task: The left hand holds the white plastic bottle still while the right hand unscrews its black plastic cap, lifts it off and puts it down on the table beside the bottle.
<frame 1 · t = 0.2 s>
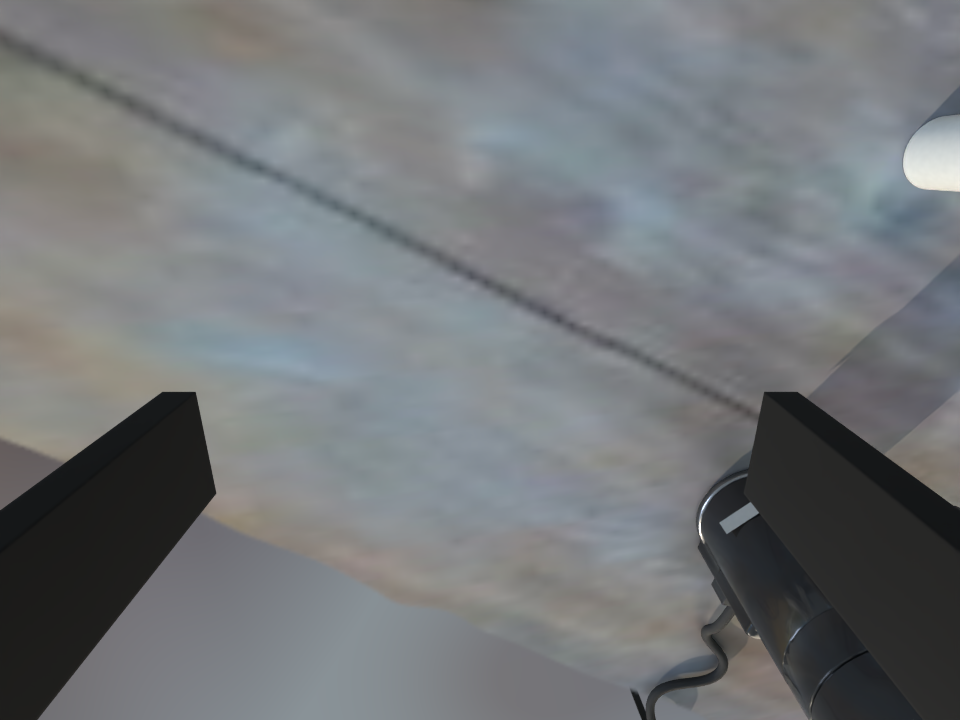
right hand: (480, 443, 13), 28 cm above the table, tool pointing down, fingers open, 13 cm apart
bottle: (938, 153, 36), on the table
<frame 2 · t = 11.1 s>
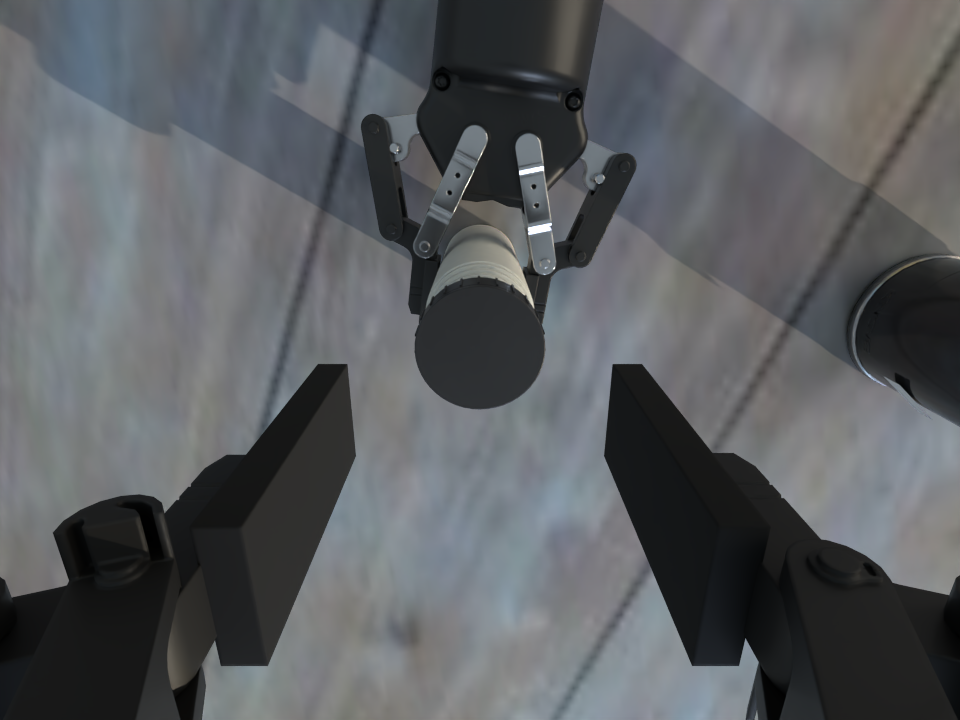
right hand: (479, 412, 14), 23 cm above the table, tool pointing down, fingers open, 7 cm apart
left hand: (474, 327, 30), fingers closed on bottle, 4 cm apart
bottle: (480, 260, 36), on the table, touching left hand
cap: (479, 347, 19), point 18 cm above the table, screwed on, not yet turned
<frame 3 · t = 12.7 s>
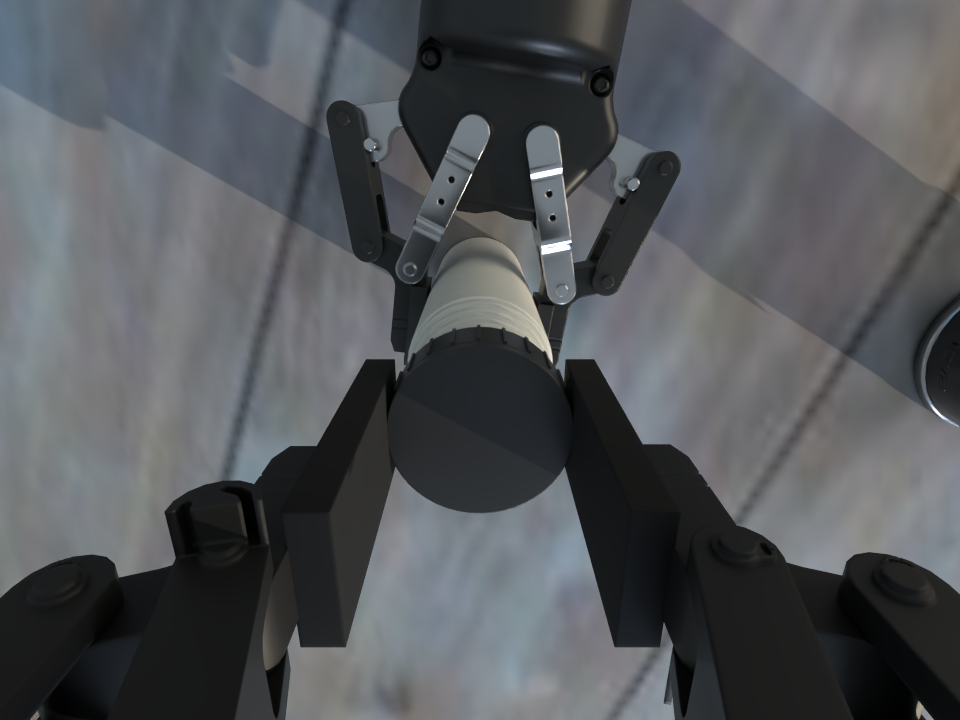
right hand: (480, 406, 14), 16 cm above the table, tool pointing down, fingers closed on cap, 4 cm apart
left hand: (472, 366, 25), fingers closed on bottle, 4 cm apart
bottle: (480, 280, 30), on the table, touching left hand
cap: (480, 429, 13), point 18 cm above the table, screwed on, not yet turned, touching right hand
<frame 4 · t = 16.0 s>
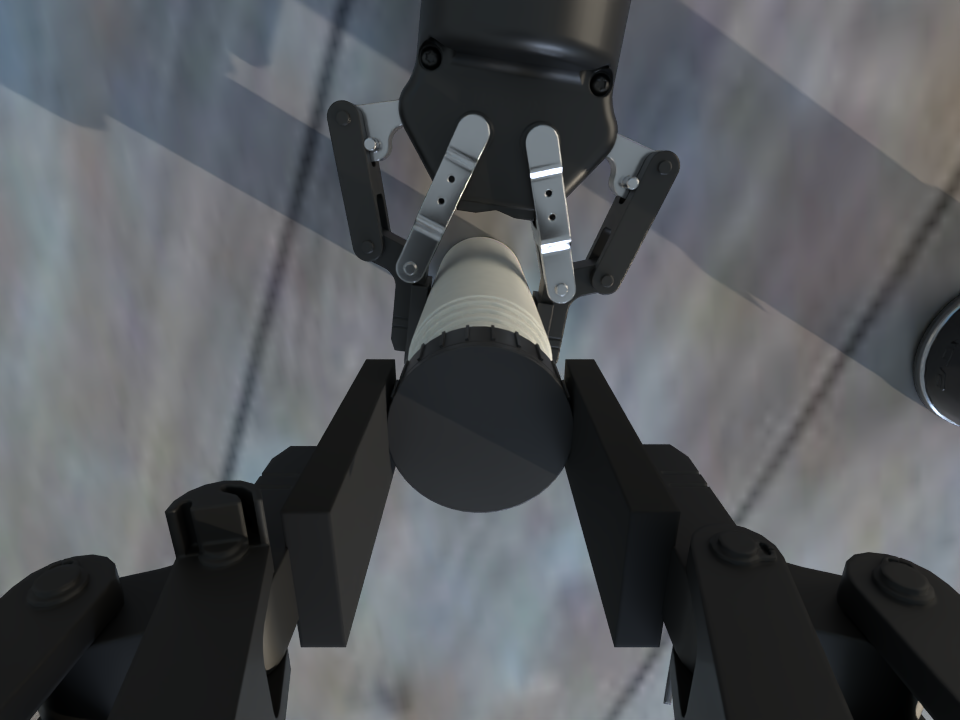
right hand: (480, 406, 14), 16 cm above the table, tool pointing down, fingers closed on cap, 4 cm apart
left hand: (472, 365, 25), fingers closed on bottle, 4 cm apart
bottle: (480, 279, 30), on the table, touching left hand
cap: (480, 428, 13), point 18 cm above the table, turned 101° so far, risen 0.1 cm, still on its thread, touching right hand
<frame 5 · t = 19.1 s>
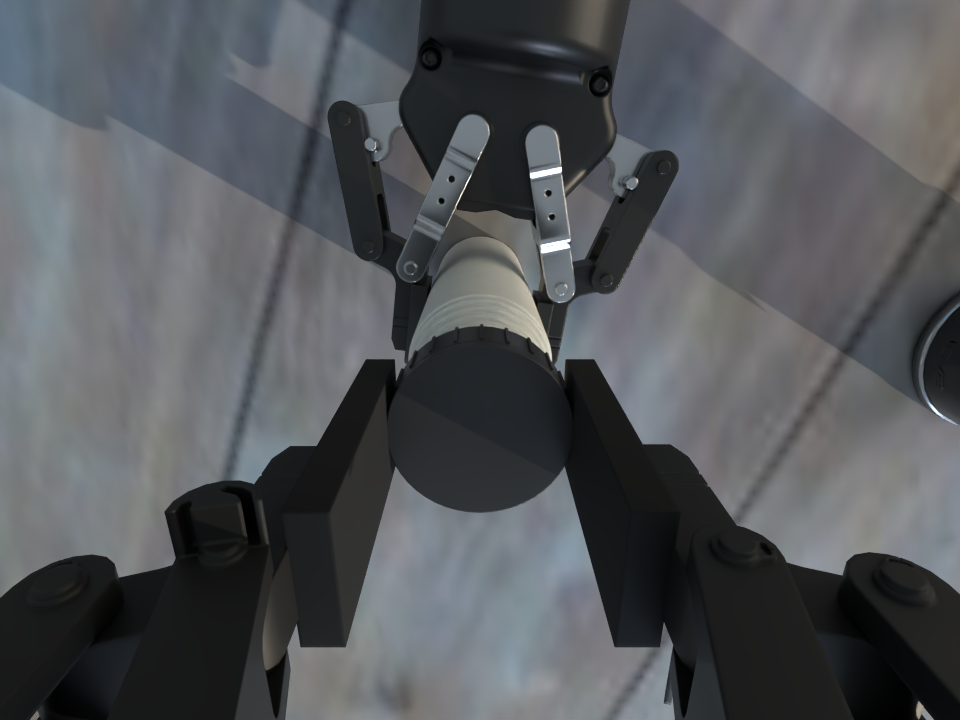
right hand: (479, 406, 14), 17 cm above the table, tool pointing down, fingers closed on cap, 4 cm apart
left hand: (472, 364, 25), fingers closed on bottle, 4 cm apart
bottle: (480, 278, 30), on the table, touching left hand
cap: (480, 428, 13), point 18 cm above the table, turned 202° so far, risen 0.2 cm, still on its thread, touching right hand
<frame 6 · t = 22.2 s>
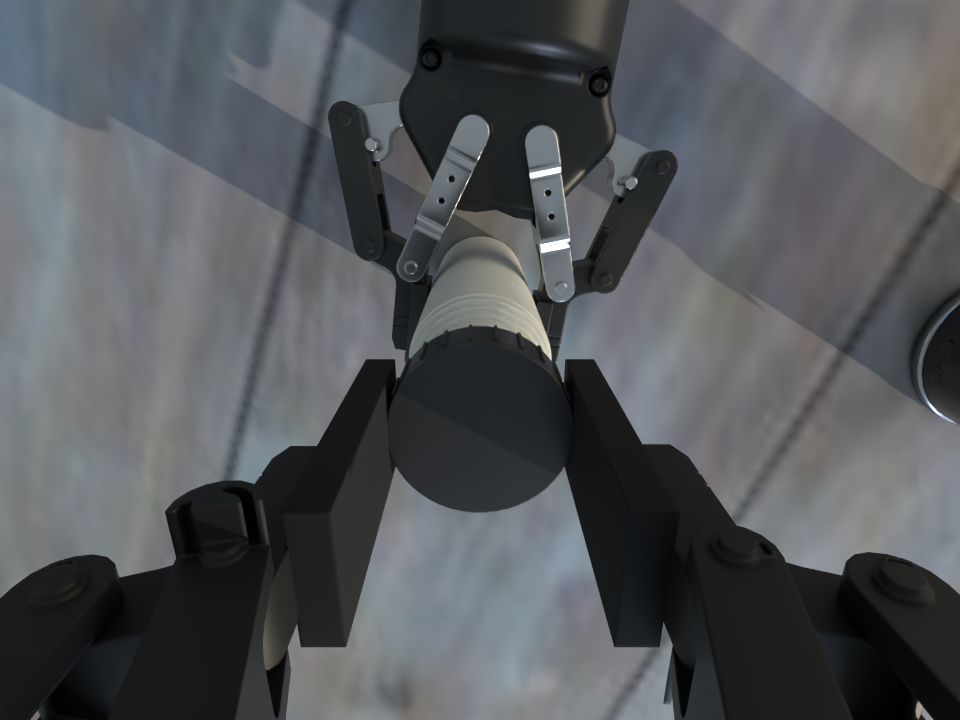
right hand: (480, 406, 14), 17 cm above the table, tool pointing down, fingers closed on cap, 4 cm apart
left hand: (472, 364, 25), fingers closed on bottle, 4 cm apart
bottle: (480, 278, 30), on the table, touching left hand
cap: (480, 428, 13), point 18 cm above the table, turned 302° so far, risen 0.3 cm, still on its thread, touching right hand
when the right hand's fingers open (1 cm above the table, at t = 29.2 s): cap stays where it is, point 1 cm above the table.
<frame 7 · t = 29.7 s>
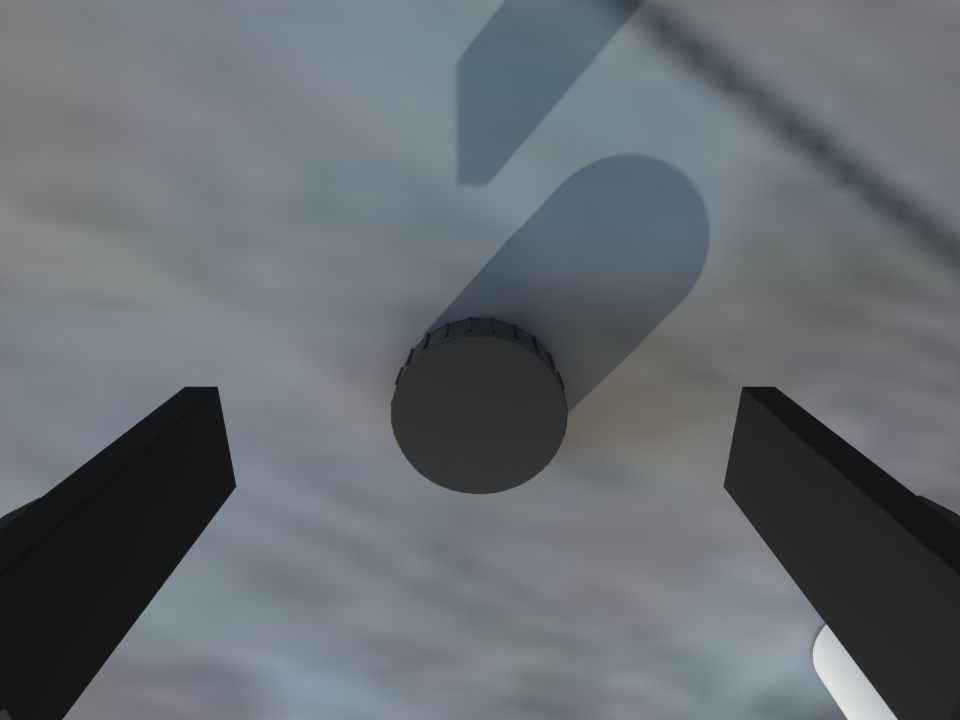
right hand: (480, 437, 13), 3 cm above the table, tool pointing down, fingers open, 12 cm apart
bottle: (880, 643, 19), on the table, touching left hand
cap: (479, 414, 14), point 1 cm above the table, off its thread
when the left hand's fingers open (7 cm above the table, at t = 30.5 s): bottle stays where it is, on the table.
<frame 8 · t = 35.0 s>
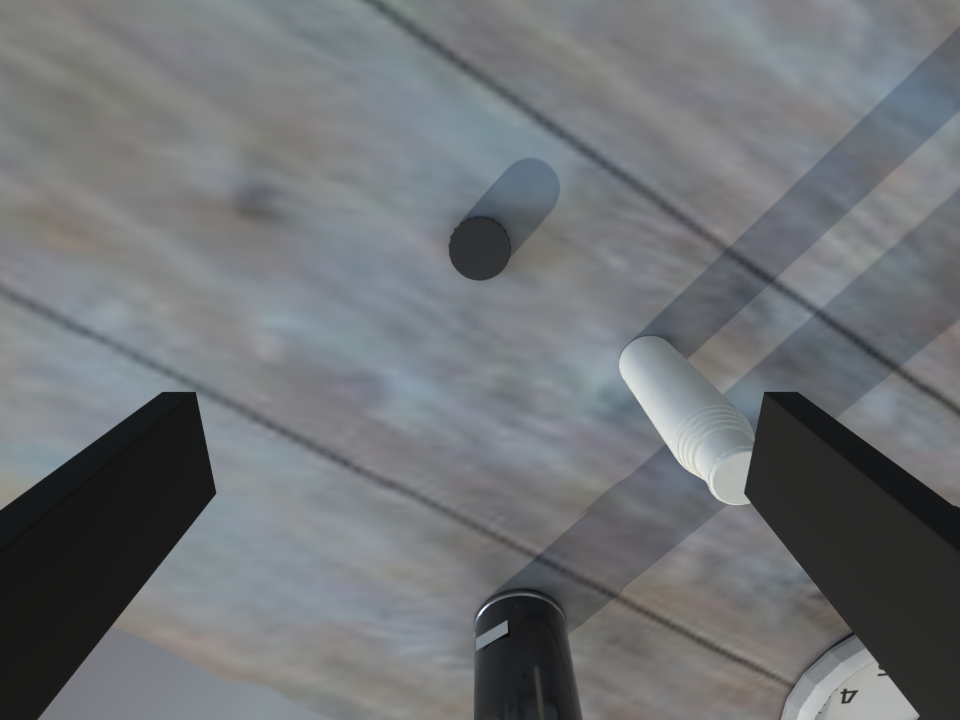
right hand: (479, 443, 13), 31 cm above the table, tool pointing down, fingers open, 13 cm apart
bottle: (647, 362, 45), on the table
wall clock: (916, 710, 59), on the table
cap: (479, 249, 40), point 1 cm above the table, off its thread
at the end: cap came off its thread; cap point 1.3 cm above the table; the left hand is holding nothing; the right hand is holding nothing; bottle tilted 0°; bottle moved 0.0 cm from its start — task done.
